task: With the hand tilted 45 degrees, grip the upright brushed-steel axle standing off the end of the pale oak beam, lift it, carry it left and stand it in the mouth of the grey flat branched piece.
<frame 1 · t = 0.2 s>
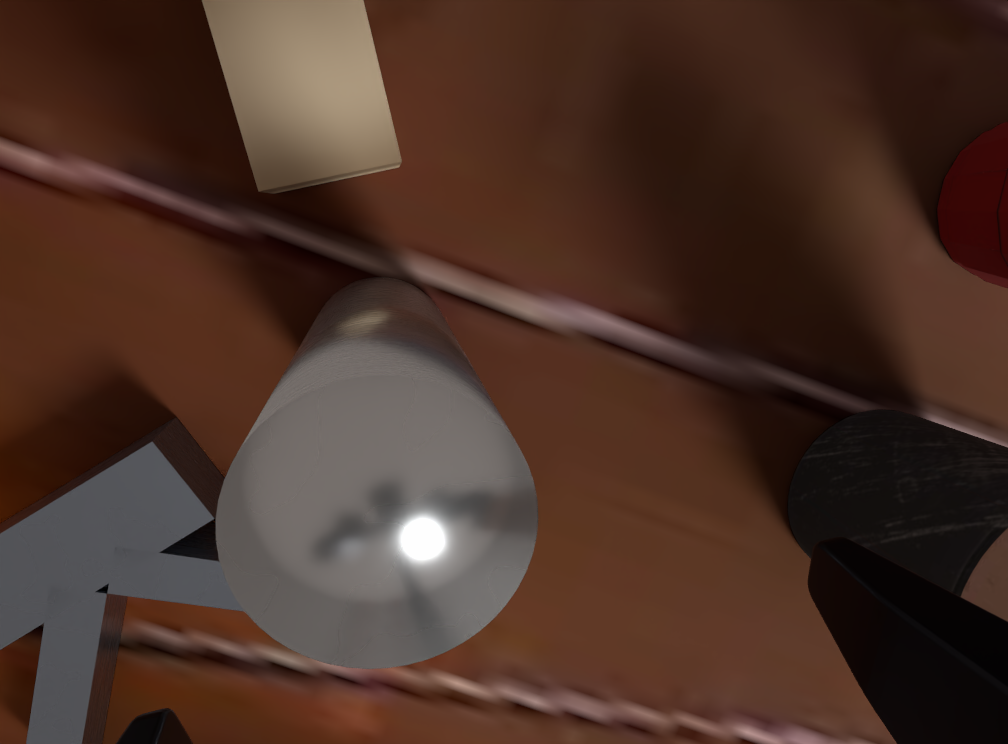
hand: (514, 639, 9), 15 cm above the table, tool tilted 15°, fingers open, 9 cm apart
plastic cup: (1000, 206, 26), on the table
travel mug: (862, 489, 28), on the table
axle: (381, 345, 23), on the table
grey flat branched piece: (193, 622, 25), on the table
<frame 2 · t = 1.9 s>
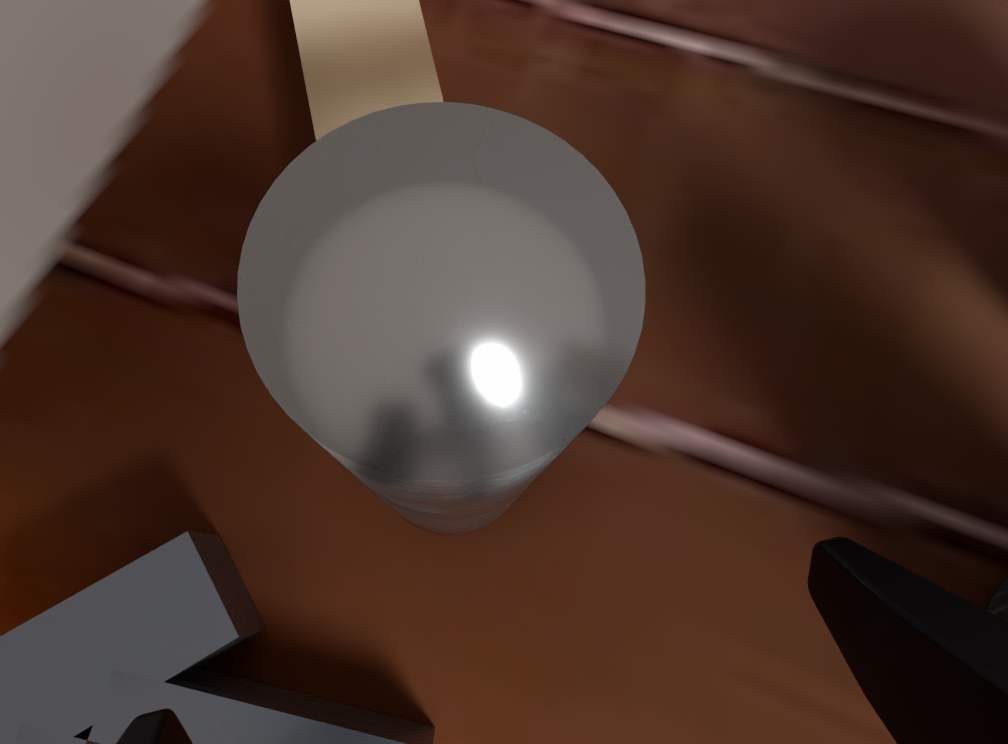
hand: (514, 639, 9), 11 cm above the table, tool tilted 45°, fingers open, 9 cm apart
beam: (381, 137, 24), on the table
axle: (451, 458, 21), on the table
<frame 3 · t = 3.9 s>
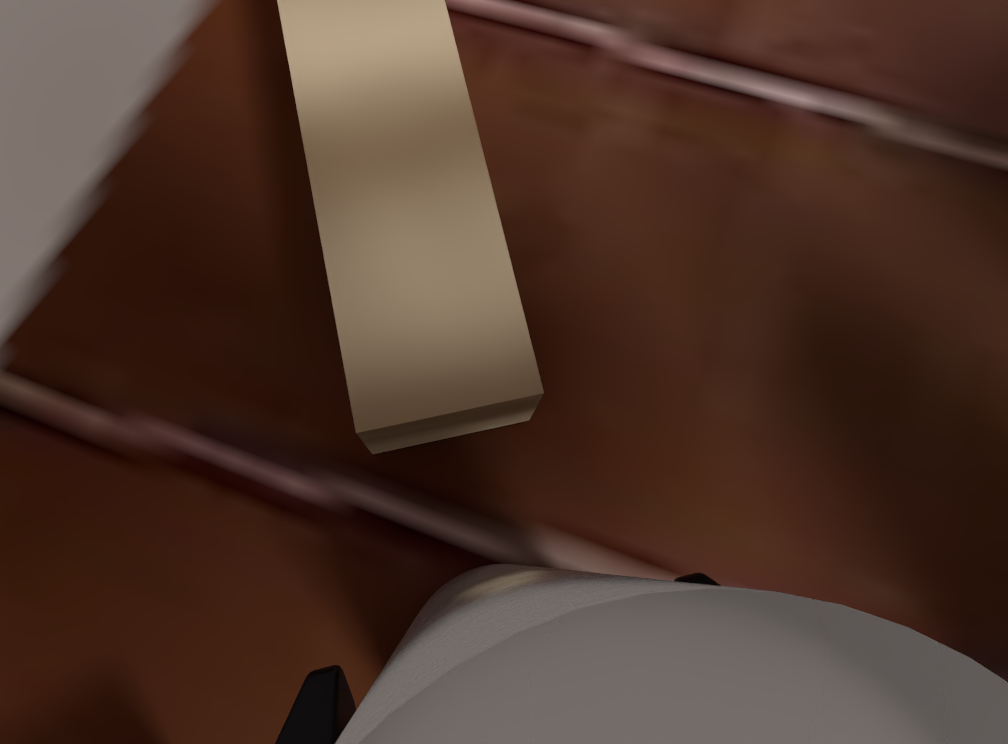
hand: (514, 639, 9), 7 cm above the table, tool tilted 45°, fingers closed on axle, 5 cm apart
beam: (405, 223, 19), on the table
axle: (502, 666, 16), on the table, touching gripper
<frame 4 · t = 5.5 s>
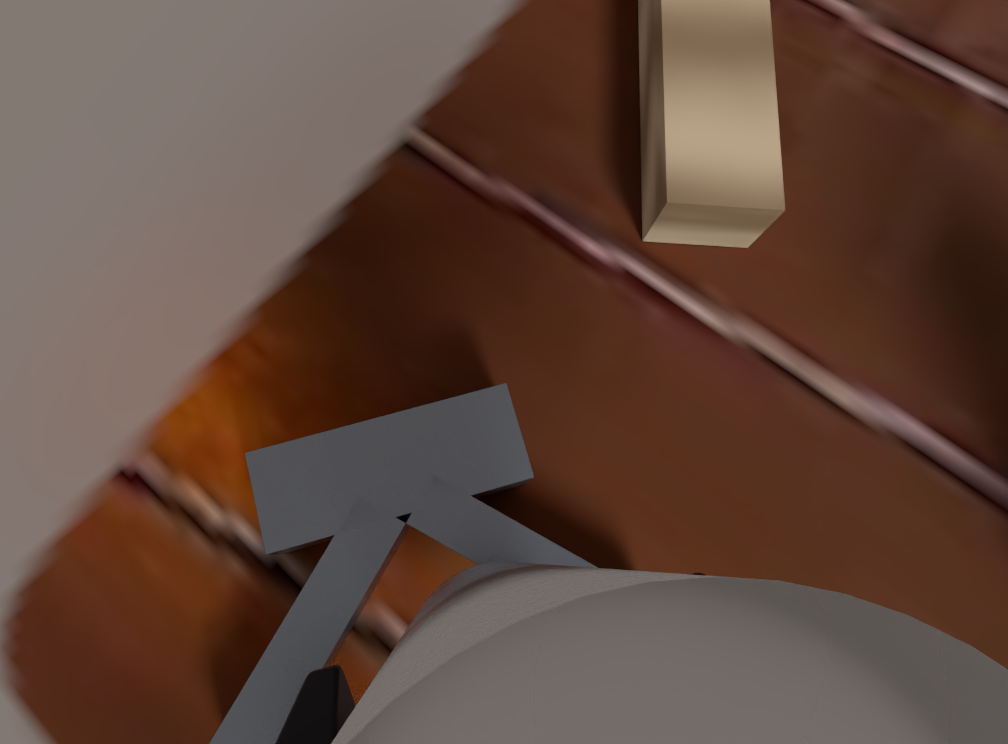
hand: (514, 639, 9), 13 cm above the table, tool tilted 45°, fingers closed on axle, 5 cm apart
beam: (689, 103, 27), on the table
axle: (502, 664, 16), point 6 cm above the table, touching gripper
grey flat branched piece: (436, 626, 22), on the table
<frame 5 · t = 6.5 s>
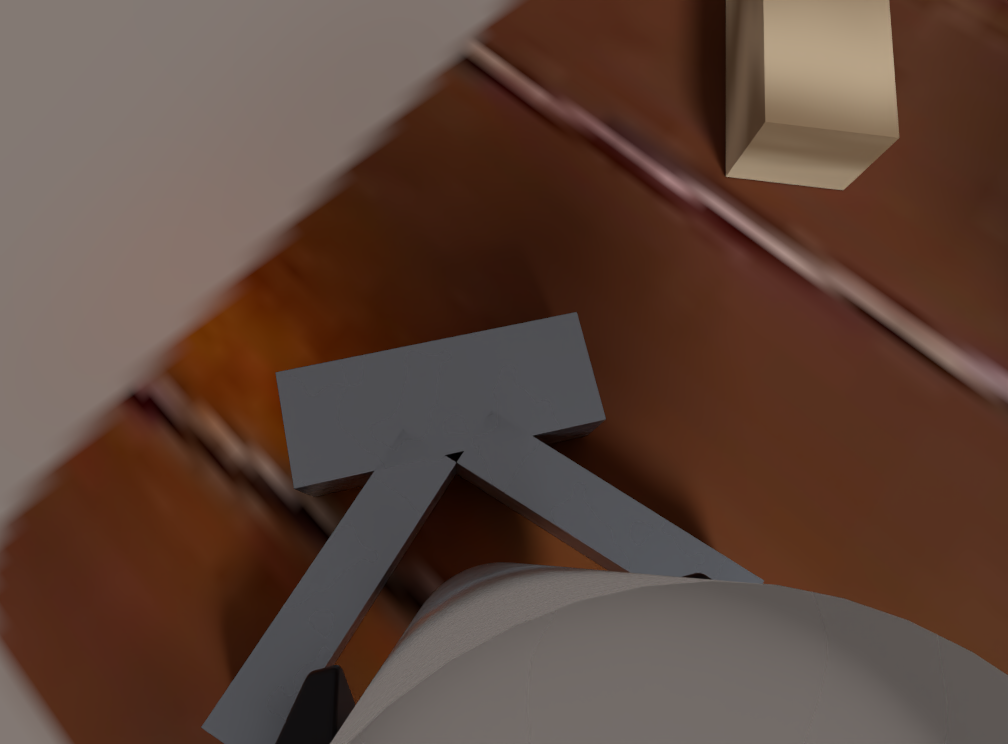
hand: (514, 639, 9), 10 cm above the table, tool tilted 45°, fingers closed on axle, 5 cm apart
beam: (781, 32, 24), on the table
axle: (502, 665, 16), point 3 cm above the table, touching gripper
grey flat branched piece: (481, 589, 19), on the table
when the fingers open (9 cm above the table, at t = 7.1 s): axle drops 2 cm, on the table.
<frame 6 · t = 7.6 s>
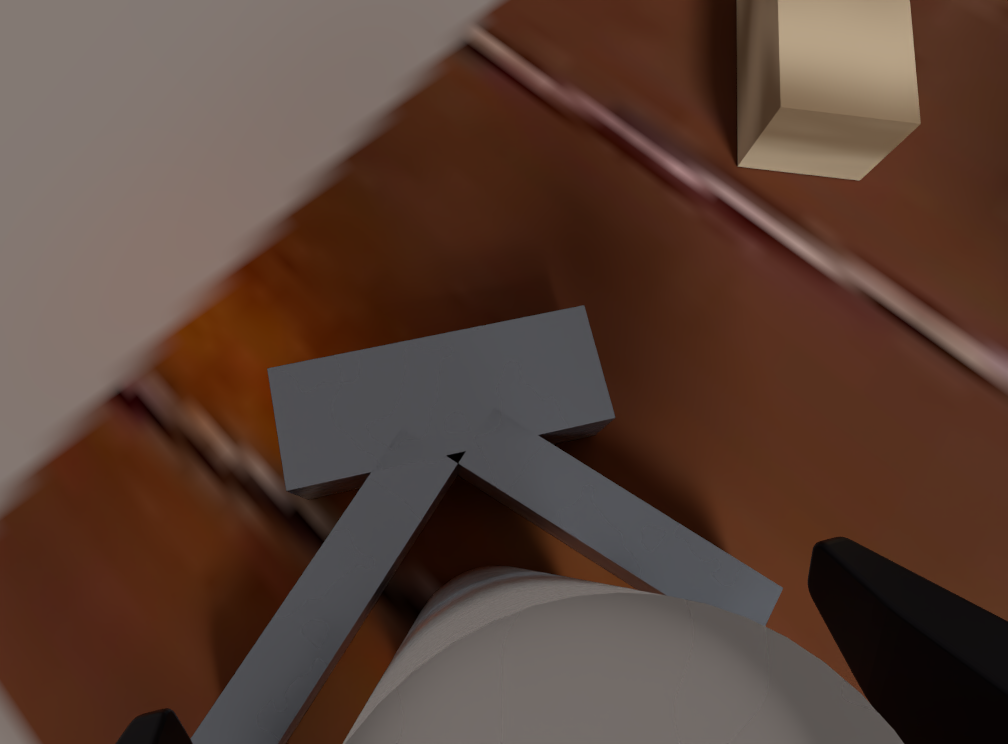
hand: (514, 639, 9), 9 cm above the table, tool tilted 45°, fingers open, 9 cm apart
beam: (793, 18, 24), on the table
axle: (497, 658, 18), on the table
grey flat branched piece: (483, 597, 18), on the table
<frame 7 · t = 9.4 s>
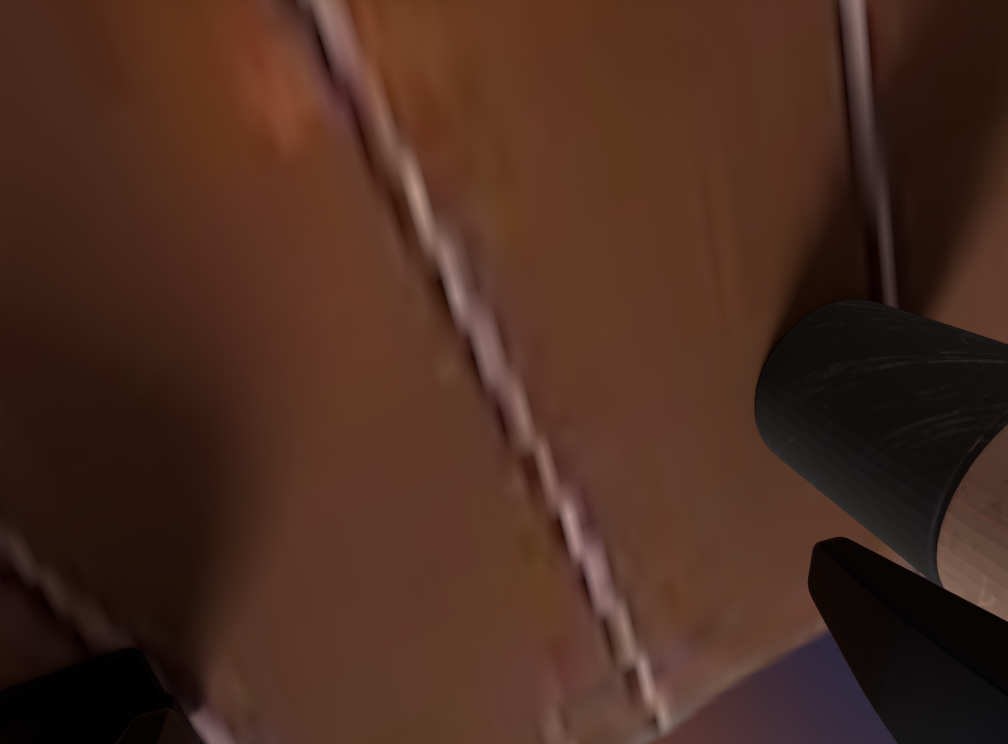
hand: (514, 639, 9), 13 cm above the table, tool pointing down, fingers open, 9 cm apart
travel mug: (826, 381, 28), on the table
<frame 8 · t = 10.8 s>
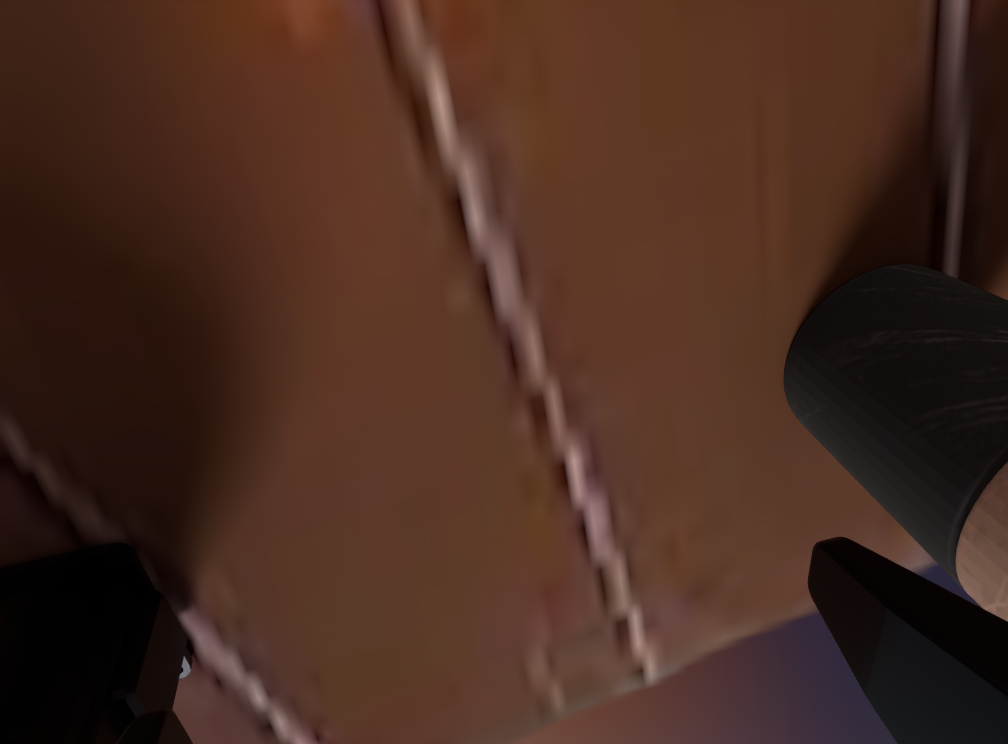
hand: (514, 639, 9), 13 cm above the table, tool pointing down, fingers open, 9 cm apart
travel mug: (866, 350, 26), on the table
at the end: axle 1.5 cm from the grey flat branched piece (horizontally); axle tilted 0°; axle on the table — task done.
